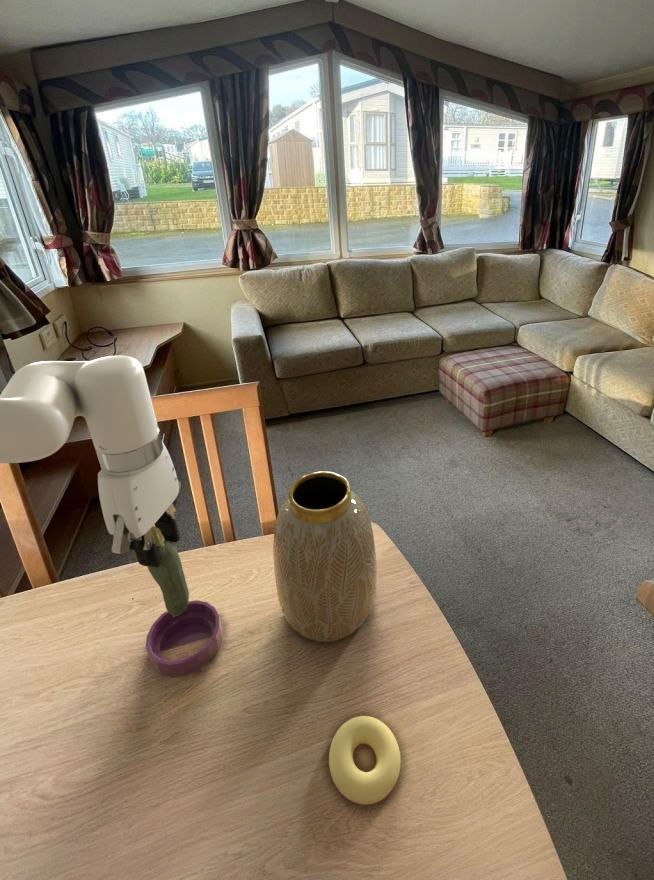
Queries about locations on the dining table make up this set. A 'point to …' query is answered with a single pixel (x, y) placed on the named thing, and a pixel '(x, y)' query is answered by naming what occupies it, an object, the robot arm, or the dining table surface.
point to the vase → (324, 558)
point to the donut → (345, 772)
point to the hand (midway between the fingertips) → (160, 550)
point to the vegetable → (169, 574)
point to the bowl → (184, 638)
